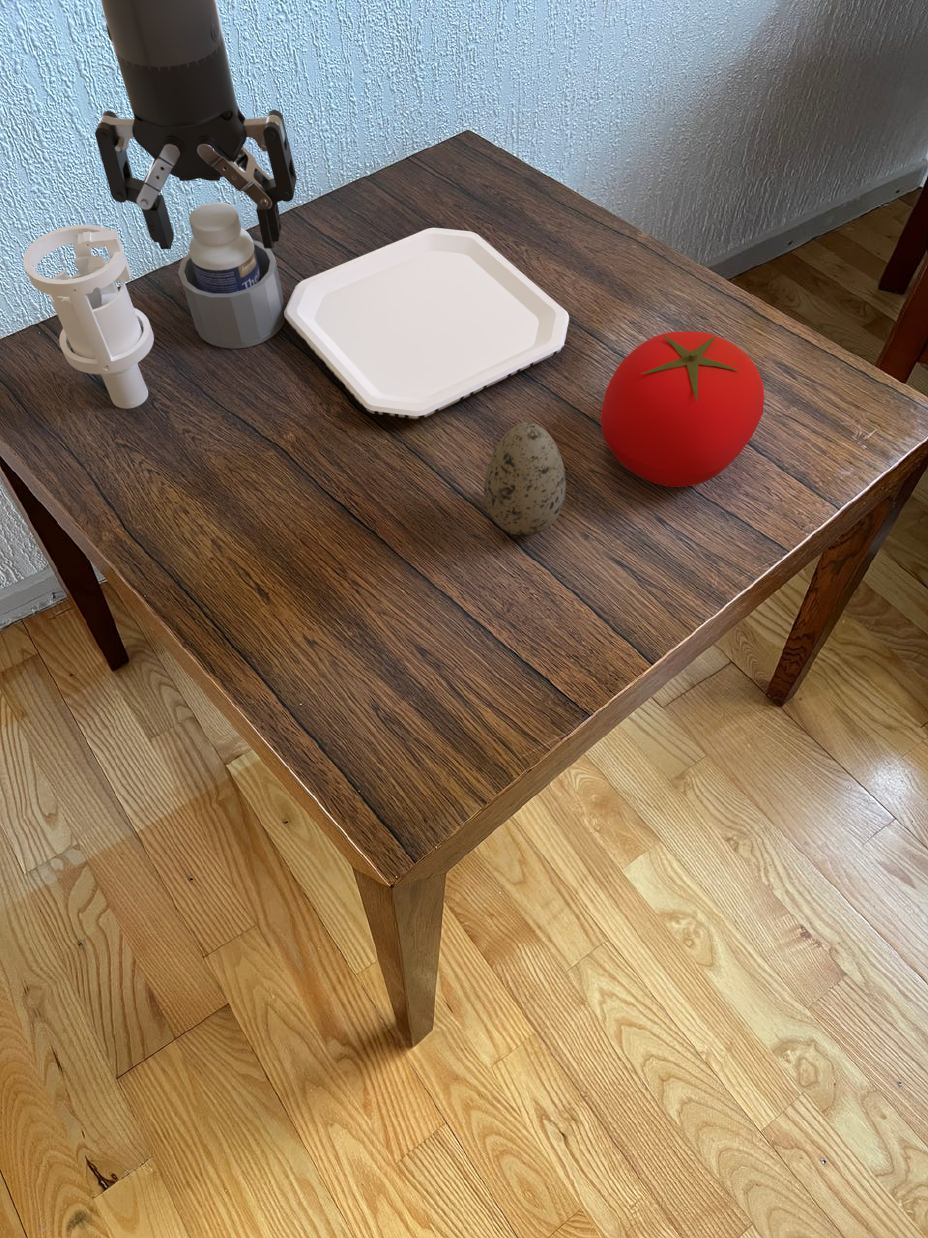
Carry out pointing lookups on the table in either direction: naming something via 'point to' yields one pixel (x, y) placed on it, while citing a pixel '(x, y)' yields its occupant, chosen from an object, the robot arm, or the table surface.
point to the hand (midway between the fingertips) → (218, 243)
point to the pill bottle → (221, 250)
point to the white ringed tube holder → (96, 310)
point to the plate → (426, 322)
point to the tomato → (682, 407)
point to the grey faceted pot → (237, 306)
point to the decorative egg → (525, 481)
